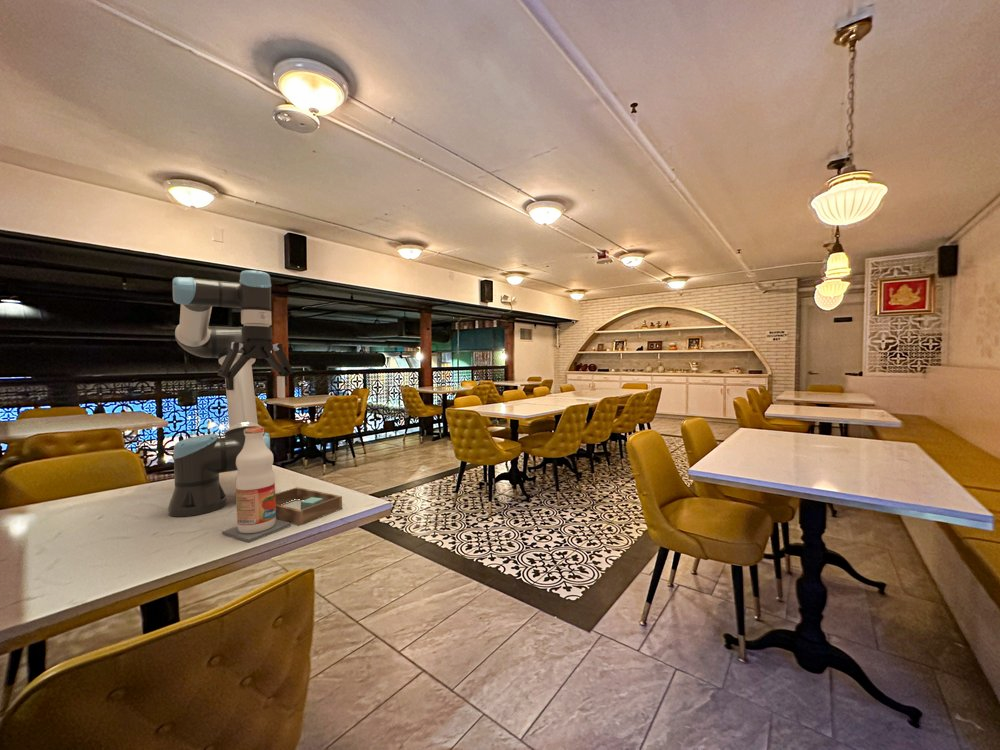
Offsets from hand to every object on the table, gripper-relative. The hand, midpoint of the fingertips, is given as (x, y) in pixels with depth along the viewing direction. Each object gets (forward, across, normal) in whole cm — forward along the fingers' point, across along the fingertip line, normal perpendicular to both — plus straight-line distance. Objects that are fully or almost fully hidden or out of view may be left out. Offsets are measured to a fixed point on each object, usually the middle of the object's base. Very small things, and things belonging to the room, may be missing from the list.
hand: (258, 399), depth 117 cm
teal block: (+36, +12, -7) cm, 39 cm away
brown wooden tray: (+36, +12, 0) cm, 38 cm away
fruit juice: (+36, -3, -4) cm, 36 cm away
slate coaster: (+36, -3, -4) cm, 37 cm away
